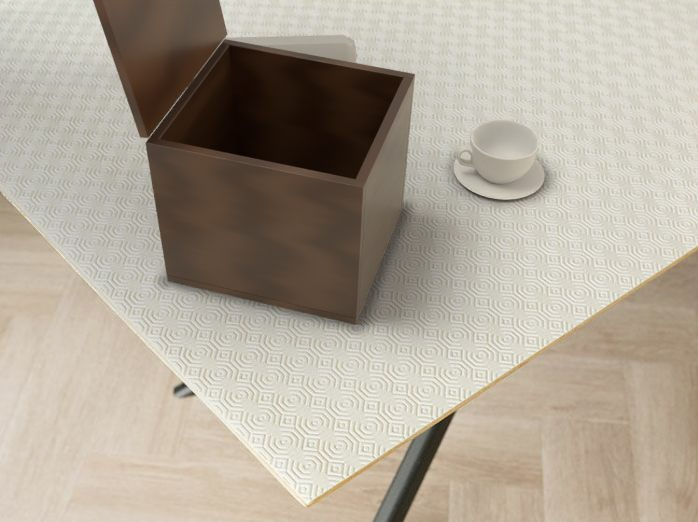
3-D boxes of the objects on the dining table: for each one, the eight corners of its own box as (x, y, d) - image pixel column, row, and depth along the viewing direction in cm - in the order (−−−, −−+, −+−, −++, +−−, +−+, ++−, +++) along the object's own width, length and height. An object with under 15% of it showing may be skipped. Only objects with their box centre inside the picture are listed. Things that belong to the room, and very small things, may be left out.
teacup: (529, 145, 104) (537, 109, 101) (554, 199, 97) (564, 164, 94) (444, 150, 103) (448, 114, 99) (464, 206, 96) (469, 170, 93)
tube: (354, 28, 113) (149, 33, 110) (360, 36, 108) (146, 41, 105) (354, 72, 115) (153, 78, 112) (360, 82, 111) (151, 88, 108)
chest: (402, 208, 96) (415, 73, 84) (355, 325, 84) (363, 187, 72) (234, 173, 99) (224, 38, 87) (167, 281, 87) (144, 142, 75)
